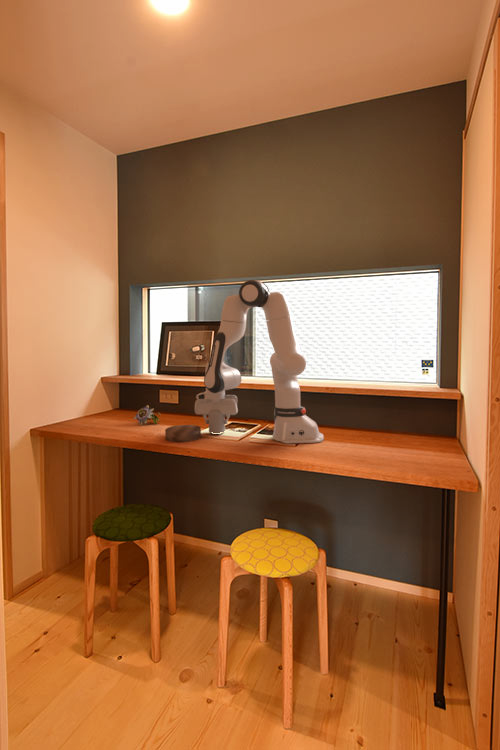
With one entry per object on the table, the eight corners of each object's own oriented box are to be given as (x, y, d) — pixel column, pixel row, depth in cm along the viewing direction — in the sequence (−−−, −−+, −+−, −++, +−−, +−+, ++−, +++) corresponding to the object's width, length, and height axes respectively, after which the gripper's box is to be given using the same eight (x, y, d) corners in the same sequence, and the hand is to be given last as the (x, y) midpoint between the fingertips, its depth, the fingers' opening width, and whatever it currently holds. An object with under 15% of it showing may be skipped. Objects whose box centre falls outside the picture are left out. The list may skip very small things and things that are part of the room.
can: (222, 435, 187) (221, 410, 185) (206, 435, 188) (205, 409, 187) (226, 431, 194) (226, 407, 193) (212, 431, 196) (211, 406, 194)
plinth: (205, 433, 192) (204, 424, 192) (194, 442, 176) (194, 433, 176) (173, 432, 195) (172, 424, 194) (160, 441, 179) (159, 433, 179)
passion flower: (142, 435, 213) (128, 417, 213) (153, 426, 223) (139, 409, 223) (156, 424, 209) (141, 406, 208) (166, 416, 219) (152, 399, 218)
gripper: (238, 393, 190) (239, 422, 192) (196, 393, 194) (198, 421, 195) (236, 395, 184) (236, 425, 186) (192, 395, 188) (194, 424, 189)
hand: (216, 423), depth 191 cm, fingers closed on can, 7 cm apart
